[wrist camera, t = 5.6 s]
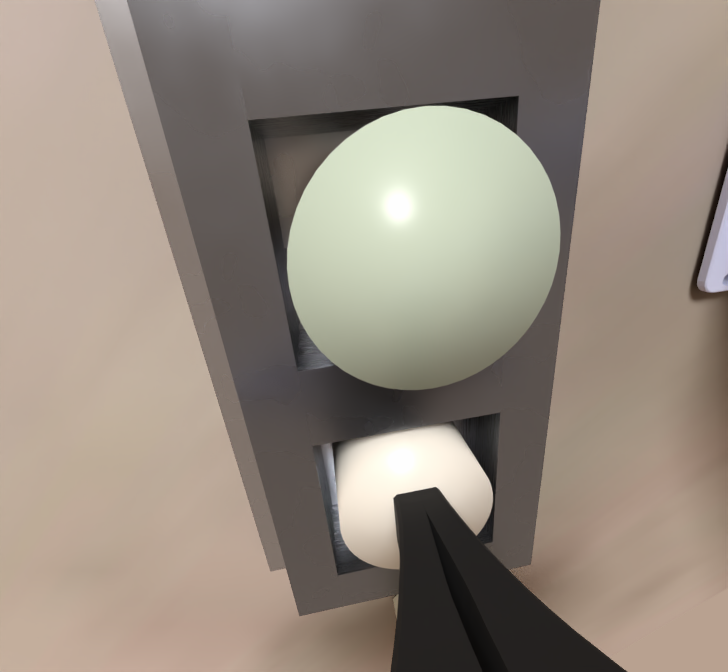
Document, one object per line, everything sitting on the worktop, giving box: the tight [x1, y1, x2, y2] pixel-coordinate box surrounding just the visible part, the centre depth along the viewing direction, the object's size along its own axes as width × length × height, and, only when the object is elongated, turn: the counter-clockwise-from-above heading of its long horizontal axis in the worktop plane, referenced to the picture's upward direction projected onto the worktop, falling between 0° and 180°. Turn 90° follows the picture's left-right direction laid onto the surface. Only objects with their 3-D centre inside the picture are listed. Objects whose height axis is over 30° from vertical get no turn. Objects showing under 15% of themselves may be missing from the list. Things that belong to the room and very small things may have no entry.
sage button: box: [287, 106, 561, 390], centre depth 8 cm, size 5×5×3 cm
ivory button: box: [332, 421, 493, 569], centre depth 13 cm, size 5×5×3 cm
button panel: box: [95, 0, 600, 616], centre depth 10 cm, size 12×28×4 cm, turn 6°
